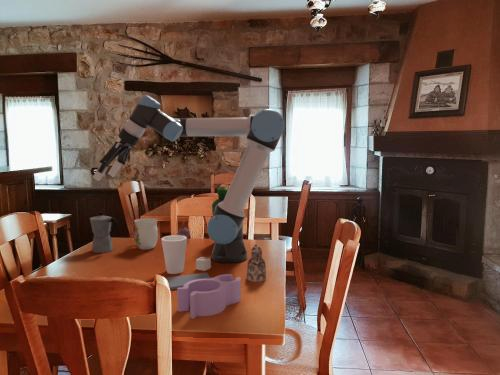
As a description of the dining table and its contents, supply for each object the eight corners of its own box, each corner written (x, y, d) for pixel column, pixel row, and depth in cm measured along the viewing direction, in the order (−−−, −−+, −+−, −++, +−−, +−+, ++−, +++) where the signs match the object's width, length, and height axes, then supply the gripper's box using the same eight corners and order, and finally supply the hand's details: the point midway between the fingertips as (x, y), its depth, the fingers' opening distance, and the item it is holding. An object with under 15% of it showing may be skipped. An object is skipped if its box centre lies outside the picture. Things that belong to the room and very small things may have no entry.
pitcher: (150, 241, 200) (150, 214, 199) (164, 249, 185) (163, 220, 184) (128, 244, 194) (127, 216, 193) (140, 253, 179) (139, 223, 178)
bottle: (209, 241, 201) (209, 185, 197) (230, 239, 204) (229, 184, 201) (215, 246, 191) (214, 187, 187) (236, 244, 194) (236, 186, 191)
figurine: (245, 281, 143) (245, 248, 142) (247, 274, 150) (247, 243, 149) (265, 281, 143) (266, 248, 142) (266, 275, 150) (266, 243, 149)
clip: (224, 291, 135) (223, 271, 134) (249, 302, 126) (249, 280, 125) (172, 308, 121) (171, 286, 120) (197, 321, 112) (196, 298, 111)
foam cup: (181, 276, 149) (181, 241, 148) (158, 274, 151) (157, 240, 150) (190, 268, 159) (190, 235, 157) (168, 266, 161) (167, 234, 159)
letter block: (202, 266, 161) (202, 256, 160) (210, 268, 159) (210, 258, 158) (196, 269, 157) (196, 259, 157) (204, 271, 155) (204, 260, 155)
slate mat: (206, 275, 150) (206, 272, 150) (213, 284, 141) (213, 281, 141) (163, 280, 145) (163, 278, 144) (167, 290, 135) (167, 287, 135)
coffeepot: (83, 251, 183) (81, 212, 181) (98, 246, 192) (96, 209, 190) (110, 255, 177) (109, 214, 175) (125, 249, 186) (123, 211, 184)
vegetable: (177, 242, 198) (177, 222, 197) (177, 239, 204) (177, 220, 203) (190, 242, 199) (189, 222, 198) (189, 239, 205) (189, 219, 204)
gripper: (135, 127, 168) (108, 169, 172) (110, 126, 144) (80, 175, 147) (149, 137, 169) (123, 179, 172) (128, 138, 144) (97, 186, 147)
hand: (103, 177), depth 159 cm, fingers open, 13 cm apart
